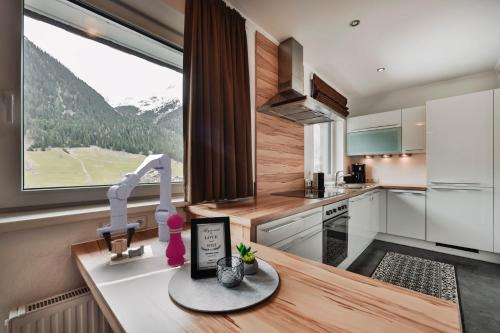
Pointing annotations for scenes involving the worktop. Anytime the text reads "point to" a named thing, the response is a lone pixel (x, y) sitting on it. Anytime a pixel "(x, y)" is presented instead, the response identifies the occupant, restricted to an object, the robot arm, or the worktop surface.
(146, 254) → the board
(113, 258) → the peg
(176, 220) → the pepper mill
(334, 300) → the worktop surface
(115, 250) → the ring
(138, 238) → the worktop surface
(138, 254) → the grey mechanical part
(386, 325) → the worktop surface
